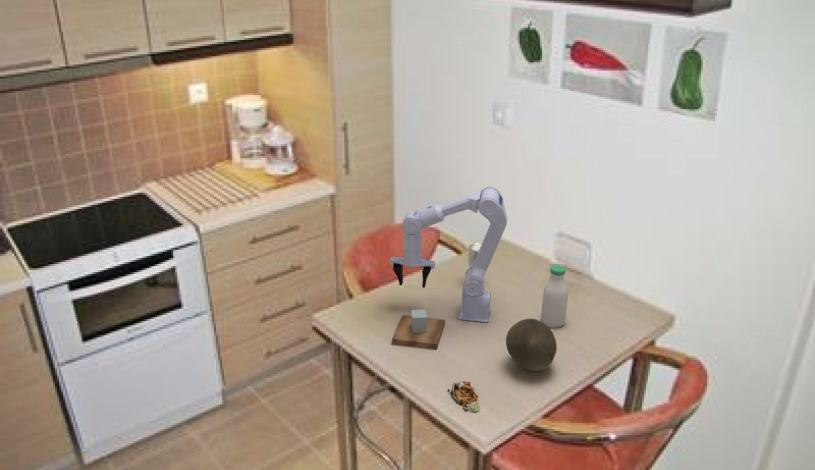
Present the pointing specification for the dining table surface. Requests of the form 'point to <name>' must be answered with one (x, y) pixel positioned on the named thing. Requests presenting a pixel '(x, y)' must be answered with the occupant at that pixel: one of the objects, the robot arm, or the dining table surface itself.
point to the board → (420, 340)
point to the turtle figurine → (465, 396)
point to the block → (419, 321)
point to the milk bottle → (555, 298)
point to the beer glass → (474, 255)
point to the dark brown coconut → (531, 344)
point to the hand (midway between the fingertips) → (412, 285)
